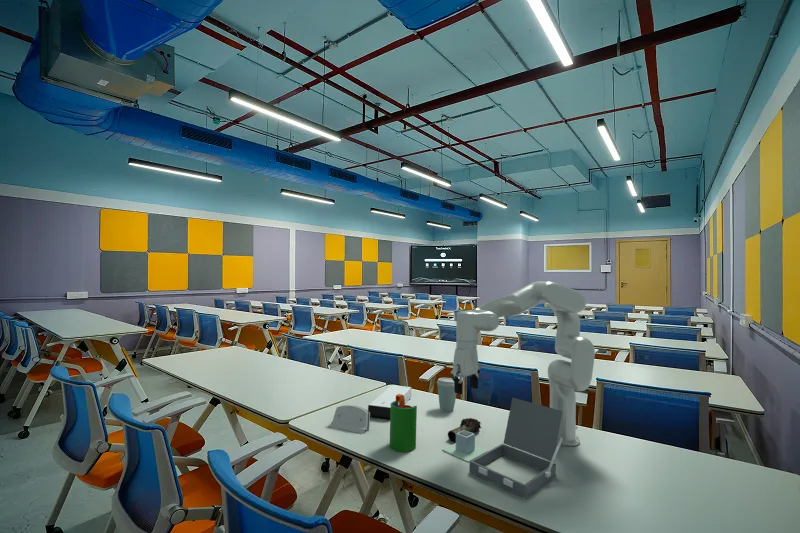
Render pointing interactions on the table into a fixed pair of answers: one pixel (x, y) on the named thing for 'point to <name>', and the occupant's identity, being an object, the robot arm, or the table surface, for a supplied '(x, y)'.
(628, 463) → the table surface
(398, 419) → the motor
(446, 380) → the disposable coffee cup
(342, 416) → the hinge
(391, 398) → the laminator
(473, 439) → the module
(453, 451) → the mat
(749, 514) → the table surface
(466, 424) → the brown rough-headed cylinder
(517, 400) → the lid
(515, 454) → the case
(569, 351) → the robot arm
